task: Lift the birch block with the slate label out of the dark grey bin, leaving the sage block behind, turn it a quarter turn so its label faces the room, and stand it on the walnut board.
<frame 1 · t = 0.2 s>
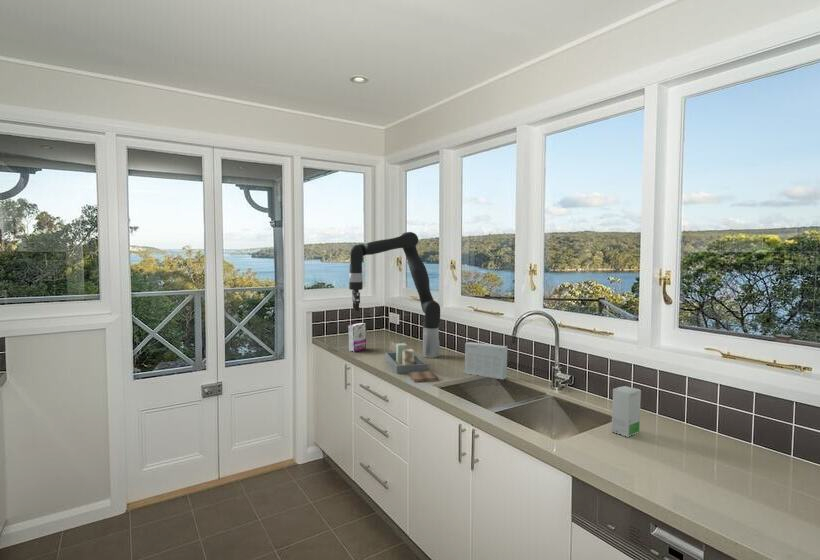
hand: (356, 309, 257), 29 cm above the worktop, tool pointing down, fingers open, 8 cm apart
birch block: (408, 368, 243), resting in grey bin
walnut board: (423, 377, 226), on the worktop
grey bin: (404, 365, 250), on the worktop
skincare box 2: (485, 376, 231), on the worktop
sage block: (401, 361, 257), resting in grey bin
skincare box: (624, 432, 162), on the worktop
candy bar box: (357, 350, 285), on the worktop
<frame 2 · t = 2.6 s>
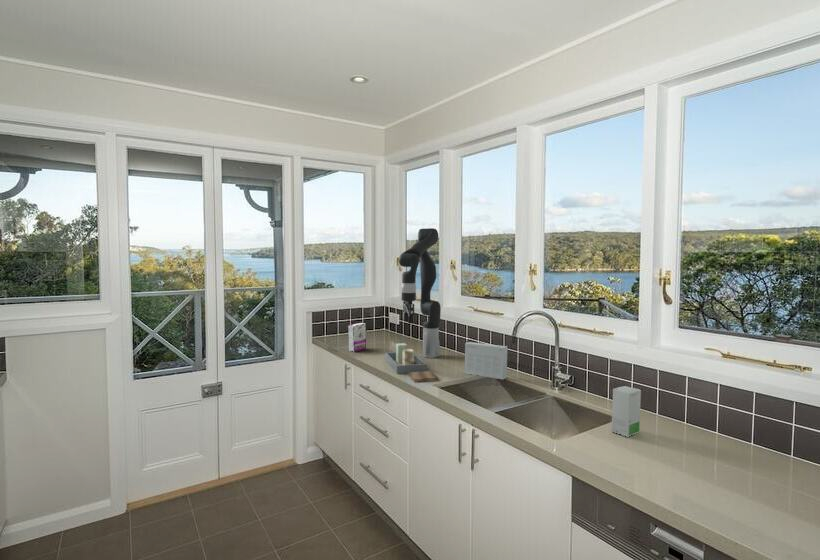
hand: (408, 322, 241), 25 cm above the worktop, tool pointing down, fingers open, 8 cm apart
nothing on the worktop moved.
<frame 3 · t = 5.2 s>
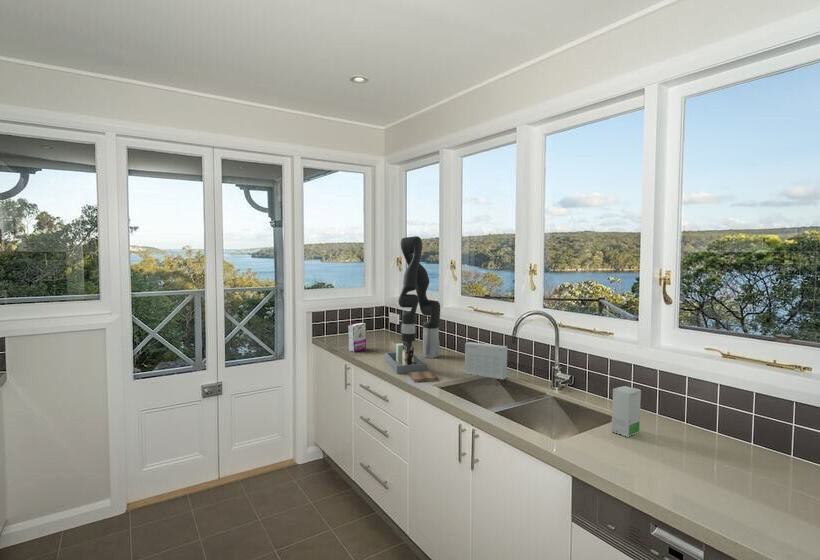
hand: (408, 363, 243), 3 cm above the worktop, tool pointing down, fingers closed on birch block, 5 cm apart
birch block: (408, 368, 243), resting in grey bin, touching gripper
everything else where it was.
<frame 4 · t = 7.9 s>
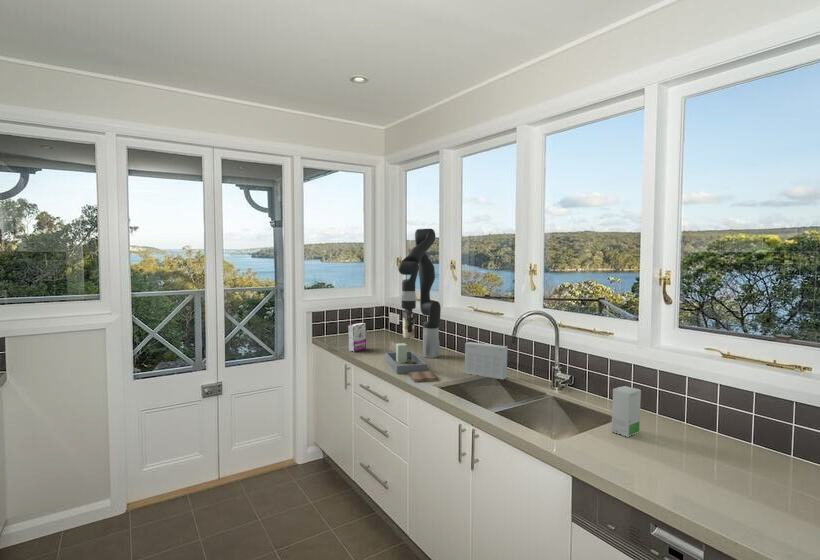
hand: (408, 331, 241), 20 cm above the worktop, tool pointing down, fingers closed on birch block, 5 cm apart
birch block: (408, 336, 241), point 17 cm above the worktop, touching gripper
everything else where it was.
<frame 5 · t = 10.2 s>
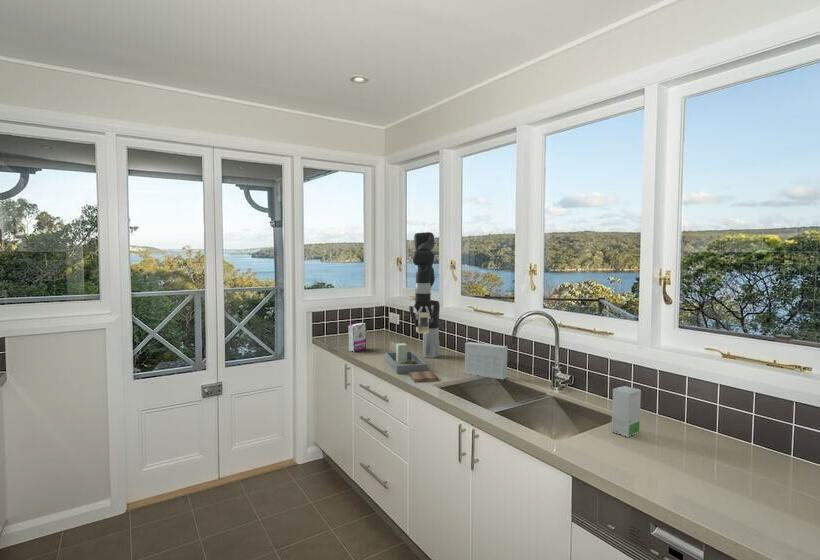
hand: (422, 326, 224), 26 cm above the worktop, tool pointing down, fingers closed on birch block, 5 cm apart
birch block: (422, 332, 225), point 23 cm above the worktop, touching gripper
everything else where it was.
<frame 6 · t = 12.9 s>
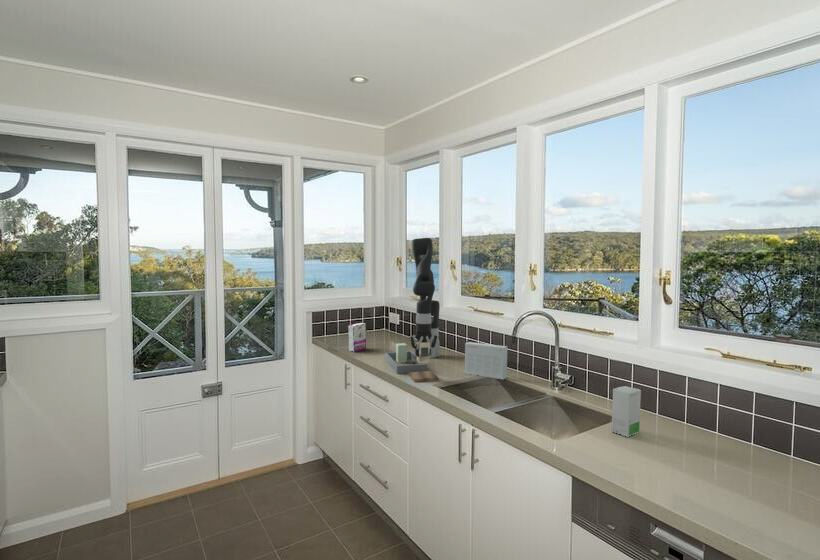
hand: (423, 356, 225), 11 cm above the worktop, tool pointing down, fingers closed on birch block, 5 cm apart
birch block: (423, 361, 226), point 8 cm above the worktop, touching gripper
everything else where it was.
when the fingers open (6 cm above the worktop, at t = 14.9 s): birch block drops 1 cm, resting on walnut board.
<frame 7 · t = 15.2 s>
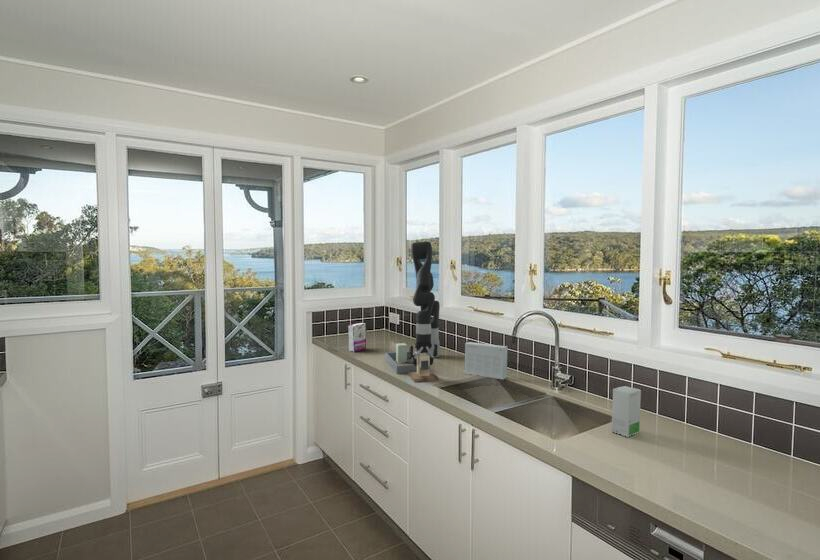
hand: (423, 365, 226), 6 cm above the worktop, tool pointing down, fingers open, 7 cm apart
birch block: (423, 374, 226), point 1 cm above the worktop, touching walnut board
everything else where it was.
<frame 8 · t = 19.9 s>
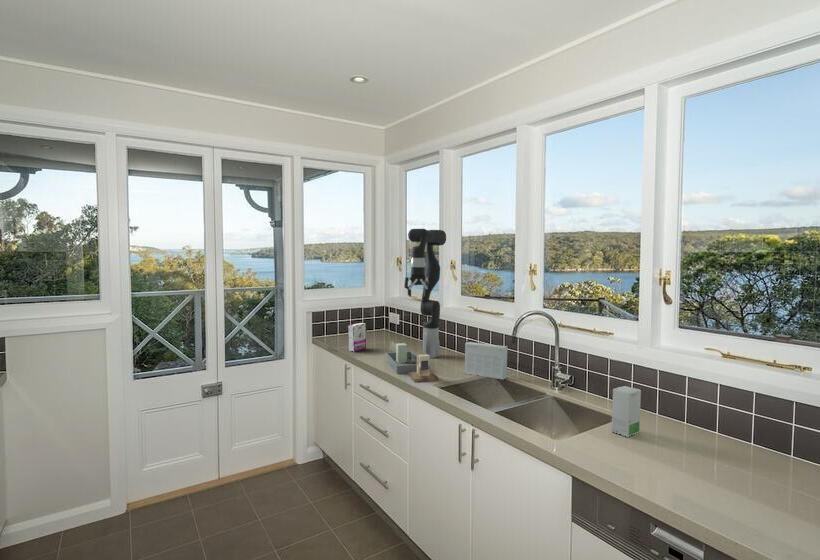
hand: (417, 296, 245), 38 cm above the worktop, tool pointing down, fingers open, 8 cm apart
nothing on the worktop moved.
at the end: birch block inside the target area (0.1 cm from its centre), point 1.5 cm above the worktop; birch block tilted 0°; sage block moved 0.0 cm from its start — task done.
